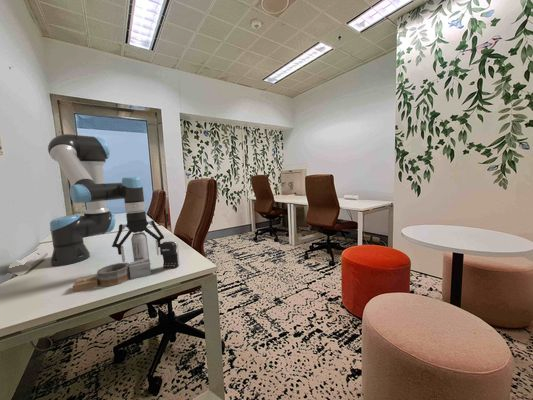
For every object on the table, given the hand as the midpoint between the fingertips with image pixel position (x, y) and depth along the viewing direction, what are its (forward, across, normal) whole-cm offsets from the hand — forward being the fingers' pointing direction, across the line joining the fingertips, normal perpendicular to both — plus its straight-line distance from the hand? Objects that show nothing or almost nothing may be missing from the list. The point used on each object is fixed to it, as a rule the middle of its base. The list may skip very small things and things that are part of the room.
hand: (141, 257), depth 99 cm
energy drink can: (+4, 0, 0) cm, 4 cm away
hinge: (+4, -9, -11) cm, 15 cm away
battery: (+4, +11, -11) cm, 16 cm away
